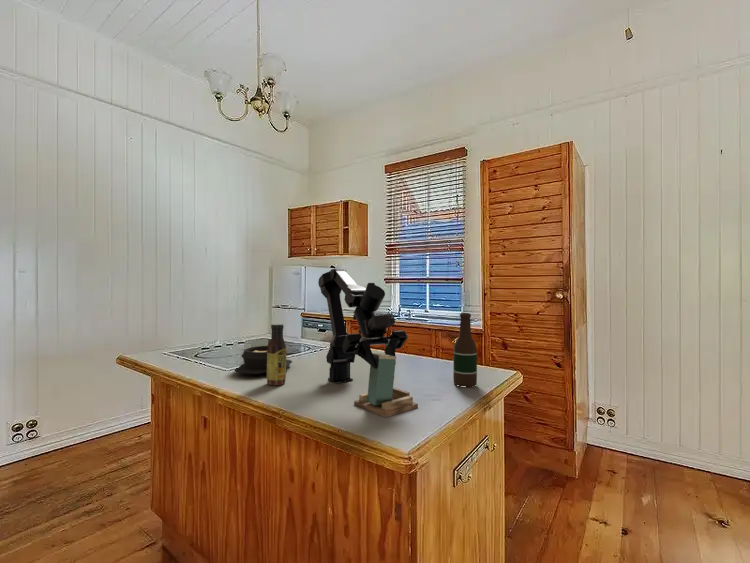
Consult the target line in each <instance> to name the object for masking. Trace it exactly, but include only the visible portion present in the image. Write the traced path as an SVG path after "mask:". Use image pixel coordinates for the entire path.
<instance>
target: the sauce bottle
mask: <svg viewBox="0 0 750 563" xmlns="http://www.w3.org/2000/svg"><path fill="white" fill-rule="evenodd" d="M270 328H271V336H270V337H271V338H270V340H269V342H268V343H267V346H268V352H267V374H266V384H267V385H268V386H281V385H284V384H285V383H286V378H287V368H286V359H287V355H286V352H287V345H286V342H285V340H284V328H285V326H284V324H282V323H273V324H271V325H270Z"/></svg>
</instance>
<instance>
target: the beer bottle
mask: <svg viewBox="0 0 750 563" xmlns="http://www.w3.org/2000/svg"><path fill="white" fill-rule="evenodd" d="M459 317H460V321H459V322H460V323H459V333H458V337H457V339H456V340H455V343H454V345H453V369H452V370H453V377H452V378H453V383H454V385H455V386H456V385H459V386H466V387H472V386H475V385H476V386H477V382H478V381H477V380H478V349H477V345H476V342H475V341H474V339H473V337H472V327H471V324H472V323H471V317H472V314H471V313H469V312H461V313H460V314H459ZM459 386H458V387H459ZM476 386H475V387H476ZM472 388H473V387H472Z"/></svg>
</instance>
